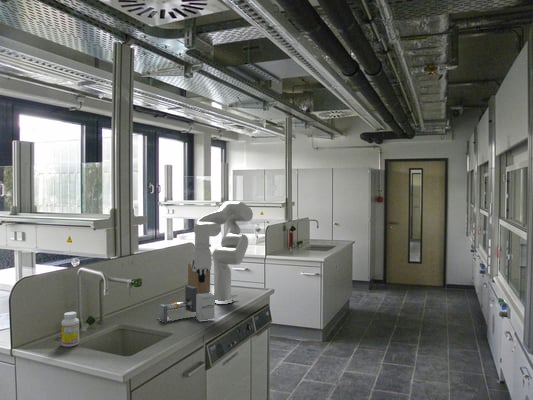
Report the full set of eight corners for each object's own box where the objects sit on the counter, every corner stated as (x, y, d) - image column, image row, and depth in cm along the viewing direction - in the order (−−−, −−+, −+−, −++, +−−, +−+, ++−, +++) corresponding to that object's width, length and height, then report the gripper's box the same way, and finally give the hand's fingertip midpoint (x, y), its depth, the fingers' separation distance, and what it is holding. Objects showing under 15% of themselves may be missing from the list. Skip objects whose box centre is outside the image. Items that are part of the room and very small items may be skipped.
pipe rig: (195, 311, 231) (195, 297, 231) (203, 315, 225) (203, 299, 225) (156, 319, 216) (156, 303, 216) (164, 322, 210) (164, 306, 210)
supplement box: (200, 323, 211) (200, 296, 211) (195, 319, 218) (195, 293, 217) (215, 321, 214) (215, 295, 214) (209, 317, 221) (210, 292, 221)
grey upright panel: (189, 308, 228) (189, 285, 228) (196, 311, 222) (197, 287, 222) (185, 309, 226) (185, 286, 226) (192, 312, 221) (192, 288, 221)
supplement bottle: (64, 341, 182) (65, 311, 182) (81, 341, 183) (81, 310, 183) (58, 347, 176) (58, 315, 176) (75, 347, 176) (75, 315, 176)
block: (210, 295, 268) (210, 263, 268) (198, 298, 260) (198, 265, 260) (199, 293, 274) (199, 261, 274) (187, 296, 266) (187, 263, 266)
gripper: (210, 245, 236) (209, 279, 236) (185, 247, 226) (185, 282, 226) (218, 246, 230) (217, 281, 230) (193, 248, 220) (192, 284, 220)
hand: (201, 282), depth 228 cm, fingers closed
